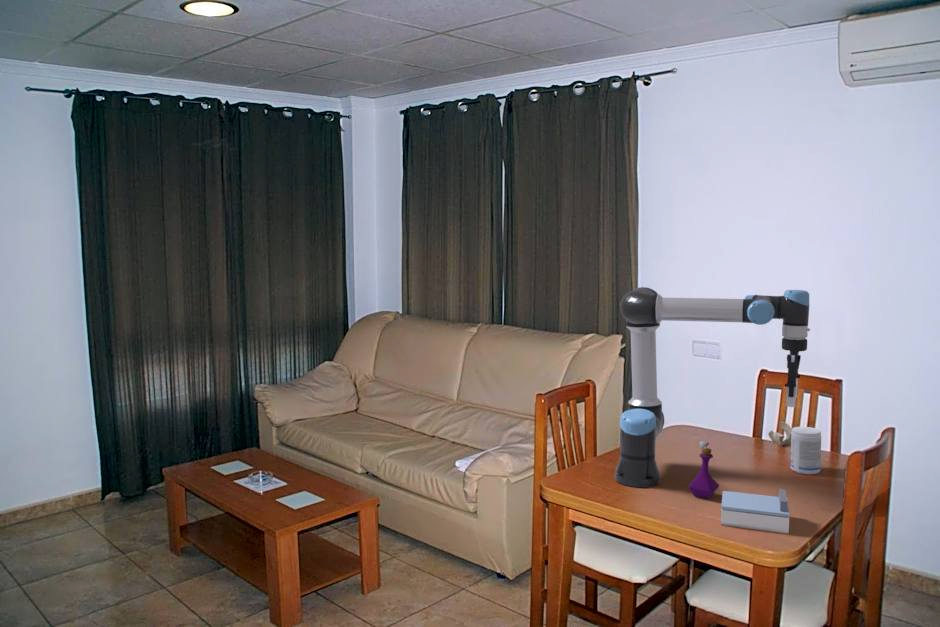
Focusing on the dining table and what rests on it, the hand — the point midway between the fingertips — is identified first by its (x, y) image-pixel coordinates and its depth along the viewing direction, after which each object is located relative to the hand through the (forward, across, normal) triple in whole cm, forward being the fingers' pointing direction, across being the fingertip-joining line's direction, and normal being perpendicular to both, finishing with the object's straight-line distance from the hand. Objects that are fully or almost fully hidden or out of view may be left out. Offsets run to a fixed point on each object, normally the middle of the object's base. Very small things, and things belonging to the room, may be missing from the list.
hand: (791, 402), depth 235 cm
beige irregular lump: (+29, +47, +5) cm, 55 cm away
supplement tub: (+28, +18, -5) cm, 34 cm away
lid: (+23, -35, +7) cm, 43 cm away
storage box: (+28, -35, +7) cm, 46 cm away
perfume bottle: (+29, -21, +24) cm, 43 cm away
